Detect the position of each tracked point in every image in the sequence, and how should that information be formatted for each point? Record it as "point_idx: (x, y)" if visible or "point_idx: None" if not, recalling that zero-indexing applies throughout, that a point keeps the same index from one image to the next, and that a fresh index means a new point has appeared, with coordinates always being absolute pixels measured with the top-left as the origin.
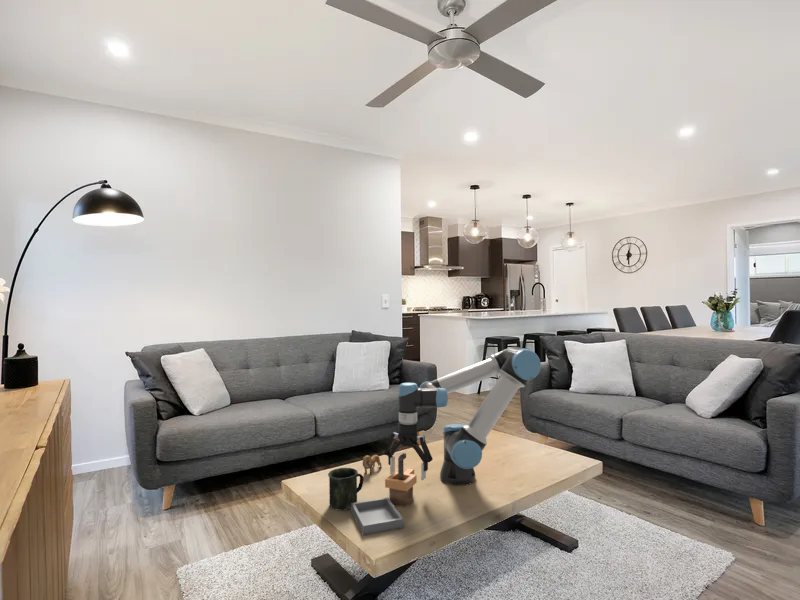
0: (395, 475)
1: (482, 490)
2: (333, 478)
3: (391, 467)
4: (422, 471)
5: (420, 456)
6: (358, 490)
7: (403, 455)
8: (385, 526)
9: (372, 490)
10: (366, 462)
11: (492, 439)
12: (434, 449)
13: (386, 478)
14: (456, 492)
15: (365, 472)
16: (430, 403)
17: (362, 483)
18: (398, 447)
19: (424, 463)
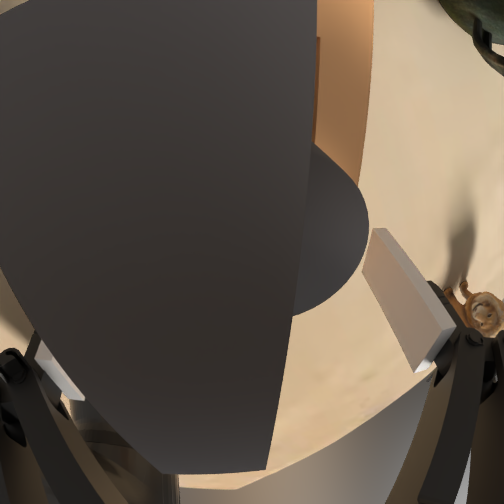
0: (315, 138)
1: (17, 341)
2: None
3: (401, 262)
4: None
5: (47, 432)
6: (477, 30)
7: (80, 377)
8: None
9: (424, 158)
10: (493, 305)
11: (202, 482)
12: (294, 448)
13: (371, 22)
14: None
15: (466, 288)
16: None
17: (493, 54)
18: (419, 480)
19: (9, 353)
